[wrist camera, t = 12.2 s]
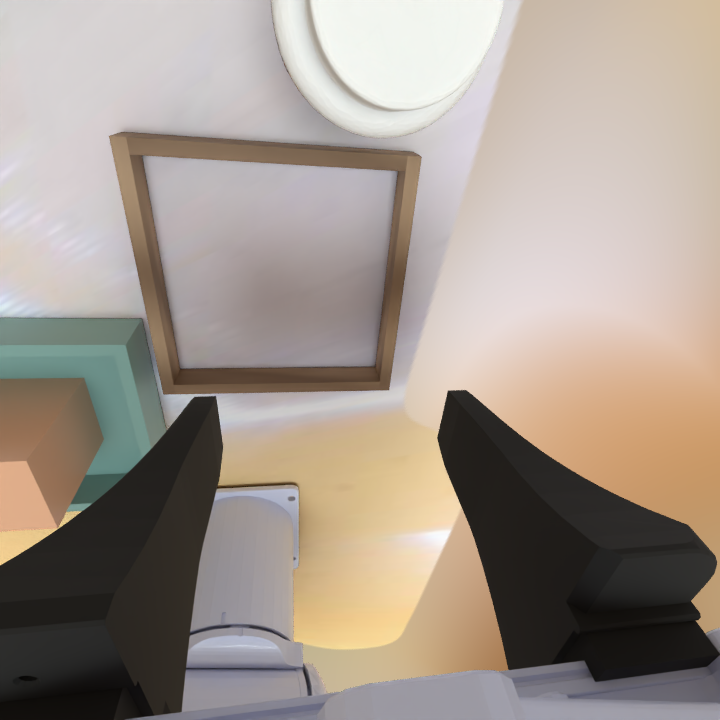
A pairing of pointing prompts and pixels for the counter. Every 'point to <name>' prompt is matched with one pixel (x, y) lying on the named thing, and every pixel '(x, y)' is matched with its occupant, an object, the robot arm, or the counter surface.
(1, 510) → the terracotta block
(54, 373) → the teal tray
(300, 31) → the supplement bottle
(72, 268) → the counter surface
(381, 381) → the walnut frame
